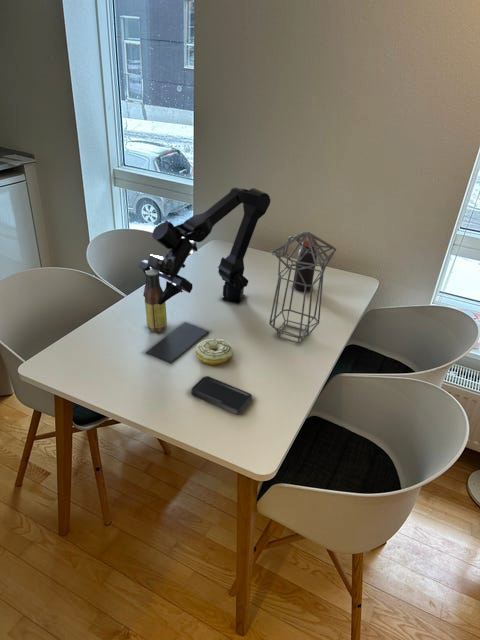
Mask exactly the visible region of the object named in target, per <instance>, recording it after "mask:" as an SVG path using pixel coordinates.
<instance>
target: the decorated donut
mask: <svg viewBox="0 0 480 640" xmlns="http://www.w3.org/2000/svg"><path fill="white" fill-rule="evenodd" d="M233 349H234V348H233V347H232V345H231V344H230V343H229V342H228V341H227V340H224V339H222V338H207V339H204V340H201V341H199V343H198V344H196V348H195V355H196V356H197V358H198V359H199V360H200V361H201V362H202V363H204V364H207V365H210V366H217V365H223V364H225V363H226V362H227V361H228V360H229V359H230V358H231V357H232V356H233V355H234V350H233Z"/></svg>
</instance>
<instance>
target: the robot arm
mask: <svg viewBox="0 0 480 640" xmlns="http://www.w3.org/2000/svg"><path fill="white" fill-rule="evenodd" d="M241 204H242V207H243V216H242V219H241V223H240V224H239V228H238V230H237V233H236V236H235V239H234V241H233V244H232V247H231V249H230V253H229V254H228V255H227V256H226V257H221V259H220V263H219V265H218V266H217V268H218V271H217V273H218V274H219V276H220V277H221V280H222V281H224V285H223V286H222V297H221V300H222V301H225V302H229V303H232V304H236V305H237V304H238V305H239V304H240V303H241V302H242V301H243V300H244V298H245V297H246V295H245V294H244V293H245V292H244V291H245V287H247V286H248V284H249V279H247V278H246V277H245V276H244V272H245V263H244V259H245V256H246V253H247V251H248V247H249V245H250V242H251V240H252V237H253V235H254V232H255V229H256V227H257V223H258V221H259V220H260V219H261V218H262V217H263V216H265V214H266V212H267V210H268V209H269V207H270V205H271V198H270V195H269V194H268V193H267V192H264V191H262V190H260V189H257V188H256V187H255V188H254V187H252V188H250V189H246V188H239V187H232V188H230V191H229V192H228V193H227V194H225V195H224V196H223V197H222V198H221V199H219V200H218V201H216V202H215V203H214V204H212V206H210V207H209V208H208V209H207V210H206V211H203V212H202V213H199V214H195V215H193V216H191V217H189V218H187V219H186V220H185V221H184V222H181V223H179V224H177V225H175V224H174V223H172V222H171V221H169V220H167V219H166V220H165V221H164V222H162V223H160V224H158V225H156V226H155V227H154V229H153V231H152V234H151V236H152V238H153V240H155V241H156V242H157V243H158V244H160V245H161V246H162V247H164V248H165V249H167V250H168V251H167V252H164V253H163V254H162V255H161V256H160V255H156V254H149V257H148V260H145V259H144V260H141V261H140V263H139V264H138V268H139V269H141V270H142V273H143V274H144V275H145V276H144V277H145V284H144V289H143V292H144V291H145V288H146V287H147V278H146V271H148V270H151V269H155V270H158V271H159V274H160V276H159V278H160V277H161V278H163V279H164V280H166V282H165V288H164V290H163V294H162V296H161V297H160V299H159V302H158V304H159V305H161V304H163V303H164V302H165V303H166V302H167V301H168V300H170V299H171V298H172V297H174V296H176V295H177V294H180V293H183V292H186V293H187V294H190V293H191V292H192V290H193V283H192V282H190V281H189V280H188V279H187V278H186V277H184V276H181V275H179V272H180V271H181V270H182V269H185V268H186V264H185V263H186V260H187V258H188V257H189V255H190V253H191V252H192V251H194V252H198V247H197V243H201V242H203V241H204V240H206V239H207V237H208V236H209V235H210V234H211V233H212V230H213V227H215V225H216V224H218V223H219V222H220V221H221V220H222V219H224V218H225V217H226V216H228V214H230V213H231V212H232V211H234V210H235V209H236V208H237V207H238V206H240V205H241ZM159 282H160V279H159ZM142 295H143V297H144V298H145V296H144V293H143V294H142Z"/></svg>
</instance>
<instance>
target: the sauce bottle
mask: <svg viewBox="0 0 480 640" xmlns="http://www.w3.org/2000/svg"><path fill="white" fill-rule="evenodd" d="M146 278H147V287H146V288H145V287H144V289H145V291H144V290H143V294H144V296H145V297H144V296H143V297H144V308H145V317H146V326H147V329H148V330H149V331H150V332H153V333H160V332H164V331H165V330H166V329H167V326H168V318H167V307H166V306H167V305H166V301H165V302H164V303H163V304H161V305H159V304H158V302H159V299H160V297H161V296H162V294H163V292H164V290H163V288H162V286H161V282H160V281H159V280H160V274H159V271H158V270H155V269H151V270H148V271H146V276H145V279H146Z"/></svg>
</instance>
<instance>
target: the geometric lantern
mask: <svg viewBox="0 0 480 640" xmlns="http://www.w3.org/2000/svg"><path fill="white" fill-rule="evenodd" d="M306 238H308V242H306ZM315 239H316V240H317V241H315ZM311 241H312V244H313V246H314V249H315V251H316V254H315V253H314V252H313V249H312V244H311ZM294 242H297V245H296V246H295V247H294V249H292V251H291V253H290V254H288V249H289V246H290V245H292V244H293V243H294ZM302 242H303V244H302ZM318 242H319V243H318ZM305 243H306V244H309V245H310V246H309V249H307V248H306V247H305V246H304V244H305ZM320 243H321V244H320ZM322 244H323V245H322ZM299 246H300V249H301V250H300V249H299V250H300V253H299V256H298V255H297V260H294V259H292V257H293V255H294V253H295V252H296V251H297V249H298V248H299ZM303 248H304V249H305V250H306V252H305V253H304V255H303V256H302V257H301V258H300V256H301V253H302V250H303ZM323 248H324V249H325V248H326V249H325V250H324V249H323ZM310 249H311V252H310V251H309V250H310ZM331 250H332V251H331ZM281 251H282V254H281ZM329 251H331V253H330V254H329V255H328V254H327V253H326V252H329ZM307 252H308V253H310V254H312V256H313V259H314V263H315V264H311V263H305V262H300V261H301V259H302V258H303V257H304V256H305V255H306V254H307ZM336 252H337V248H336V247H335V246H334V245H331V244H330V243H328V242H327V241H325V240H323V239H322V238H320V237H318V236H316V235H315V234H313V233H311V232H310V231H308V232H307V231H302V232H299V233H295V234H292V235H290V236H288V237H287V241H286V243H284V244H282V245H280V246H278V247H277V248H275V249H273V250H272V251H270V253H271V255H272V256H275V257H276V258H277V259H278V271H277V276H278V277H277V283H276V287H275V288H276V289H275V292H274V298H273V302H272V307H271V313H270V317H269V321H268V325H269V326H270V327H271V328H272V329H273V330H275V331H276V332H277V333H276V335H275V336H276V337H277V338H279V339H282V340H286V341H288V342H292V343H296V344H301V343H303V341H304V339H306V337H309V336H310V334H312V333H313V331H314V329H316V328H317V326H318V325H319V324H320V320H321V307H322V296H323V285H324V284H323V283H324V273H325V270H326V268H327V266H328V264H329V262H330V261H331V259H332V258H333V256H334V255H335V253H336ZM322 254H323V255H324V257H326V258H323V256H322ZM314 255H315V256H317V258H316V259H315V256H314ZM283 258H284V259H286V262H285V261H284V260H283ZM317 260H318V263H319V264H318V263H317ZM289 262H291V263H289ZM325 262H326V263H325ZM281 263H282V264H283V265H284V266H285V267H284V268H283V269H282V270H281ZM294 263H295V264H294ZM298 263H299V264H305V265H311V266H307V267H305V266H301V265H298ZM297 266H300V267H303V268H298V269H297ZM311 267H315V269H312V268H311ZM316 267H320V269H316ZM307 268H308V269H311V270H314V272H318V274H317V275H316V277H315V279H314V280H313V283H312V285H306V283H305V281H304V279H303V277H302V275H301V273H300V271H299V270H302V269H307ZM292 270H293V271H294V276H293V280H292V279H291V273H292ZM284 271H285V272H284ZM297 271H298V273H299V275H300V277H301V279H302V281H303V283H304V284H301V283H298V282H295V279H296V273H297ZM283 272H284V273H283ZM282 273H283V274H282ZM287 273H288V275H287V278H285V277H284V276H285V275H286V274H287ZM282 280H284V281H286V285H285V290H284V291H285V292H284V296H283V301H282V306H281V310H280V311H279V312H278V311H277V310H278V304H279V297H280V289H281V283H282ZM317 282H318V287H317V288H318V289H317V293H316V300H315V307H314V313H313V315H311V312H312V301H313V300H312V299H313V292H314V291H313V290H314V289H313V288H314V285H315V284H316V283H317ZM290 283H292V286H291V287H292V288H291V294H290V300H289V306H288V309H287V308H286V309H284V308H285V303H286V299H287V293H288V289H289V284H290ZM295 283H297V284H300V285H304V286H305V291H304V292H303V300H302V309H301V312H300V311H296V310H293V309H292V303H293V296H294V291H295V288H294V285H295ZM307 286H308V287H311V290H310V291H309V292H310V294H309V305H308V314H306V313H304V312H305V306H306V305H305V304H306V296H307V292H306V288H307ZM317 310H318V314H317ZM277 312H278V313H277ZM284 312H287V315H286V318H285V314H284ZM290 312H292V313H294V314H297V315H301V316H300V322H296V321H292V320H289V316H290ZM280 315H282V317H283V321H282V323H281V325H280V326H279V328H278V327H276V326H275V325H276V319H277V318H278V317H279V316H280ZM304 317H307V324H304V323H303V322H304V321H303V320H304ZM316 317H317V318H316ZM314 320H315V323H313V324H311V323H312V321H314ZM288 323H293V324H296V325H299V327H296V326H292V325H289V324H288ZM310 324H311V325H310ZM303 326H304V329H303ZM285 327H289V328H292V329H296V330H298V335H297V334H295V333H292V332H290V331H287V330H284V328H285ZM311 327H312V328H311ZM310 328H311V329H310ZM302 331H303V333H302ZM281 335H285V336H288V337H291V338H295V339H297V341H296V340H292V339H290V338H286V337H282V336H281Z"/></svg>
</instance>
